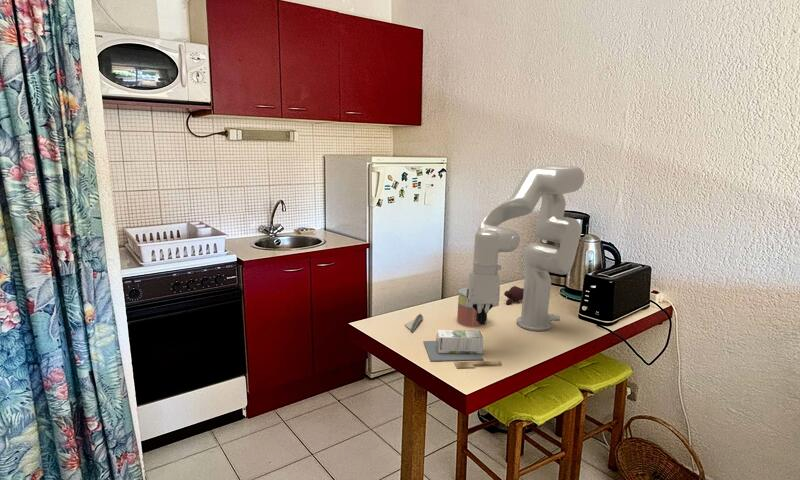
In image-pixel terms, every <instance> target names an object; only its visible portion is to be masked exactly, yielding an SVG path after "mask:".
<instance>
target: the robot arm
mask: <svg viewBox="0 0 800 480" xmlns="http://www.w3.org/2000/svg"><path fill="white" fill-rule="evenodd" d="M584 182H585V172H584V170H582V168H580V167H578V166H572V165H571V166H568V165H558V164H544V165H540V166H536V167H532V168H529V169H528V170H526V172H525V173H524V175H523V177H522V178H521V180H520V181H519V183H518V185H517V186H516V189H515V190H514V192H513V193H512V195H511V197H510V198H509V199H506V201H504V202H502V203H500V204H499V205H497V206H496V207H494V208H493V209H491V210H490V211H489V212H488V213H487V214H486V215H485V217H484V218H483V219H482V222H481V223H480V224H479V226H478V229H477V231H476V232H475V235H474V245H473V247H474V249H473V264H472V270H471V271H469V275H468V277H467V278H468V279H467V285H466V287H467V290H466V299H467V301H466V305H467V306H468V307H473V308H474V309H475V310H476V311H477V314H476V321H478V323H479V324H480V325H482V324H483V325H485V321H486V320H488V313H489V311H490V310H491V309H492V308H495V307H498V306H500V294H501V291H500V290H501V287H500V286H501V285H500V276H499V273H498V271H499V270H502V265H499V264H498V261H499V260H498V259H499V253H512V252H514V251H515V250H516V249H518V247H519V246H520V243H521V237H520V235H519V232H518V231H516V230H514V229H512V228H506V227H503V226H500V225H501V224H503V223H504V222H506V221H508V220H512V219H515V218H521V217H523V216H527V215H529V214H531V213H532V212H533V211H534V210H535V207H536V206H537V204H538V202H539V201H540V200H541V203H540V208H539V211H538V216H537V220H536V225H535V229H534V233H535V236H536V237H537V238H538V239H541V240H544V241H546V242H547V241H548V242H553V243H557V244H560V245H559V246H558V245H557V246H556V245H552V244H549V243H548V244H547V243H543V242H531V243H530V244H528V245H526V247H525V249H524V252H523V253H524V254H523V260H524V283H523V288H524V292H523V300H522V305H521V314H520V316H518V317H517V318H516V324H517V325H518V326H519V327H521V328H523V329H525V330H529V331H535V332H541V331H542V332H543V331H548V330H550V329H551V327H552V323H551V322H560V321H561V317H560V315H554V313H549V306H550V298H551V297H550V296H551V287H552V279H551V276H550V273H553V274H556V275H557V274H558V275H561V276H563V275H567V274H568V273H570V271H571V270H572V268H573V265H574V262H575V258H576V255H577V251H578V247H579V244H580V243H579V242H580V239H581V236H582V235H581V233H582V228H581V223H580V222H579V221H578V220H577V219H576V218H572V217H567V216H564V215H565V210H566V206H567V203H566V198H565V196H564V194H570V193H574V192H577V191H579V190H580V189H581V188H582V186H583V185H584ZM481 304H483V309H482V310H481ZM485 326H486V325H485Z"/></svg>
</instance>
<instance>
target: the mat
mask: <svg viewBox="0 0 800 480" xmlns="http://www.w3.org/2000/svg"><path fill="white" fill-rule="evenodd" d="M423 344H424V347H425V351H426V353H427V356H428V359H429V362H430V363H431V362H432V363H433V362H436V363H437V362H478V361H485V359H484V357H483V356H482V355H483V354H458V353H438V349H437V345H436V340H423Z"/></svg>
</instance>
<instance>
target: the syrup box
mask: <svg viewBox="0 0 800 480" xmlns="http://www.w3.org/2000/svg"><path fill="white" fill-rule="evenodd" d="M435 337H436V339H435V341H436V345H437V349H438V353H458V354H481V355H483V348H484V338H483V334H482V333H481V331H480V330H466V329H465V330H460V329H459V330H458V329H455V330H454V329H437V331H436V336H435Z"/></svg>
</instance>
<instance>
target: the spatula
mask: <svg viewBox="0 0 800 480" xmlns="http://www.w3.org/2000/svg"><path fill="white" fill-rule="evenodd" d="M453 363H454V366H455V368H456V369H457V370H464V369H466V370H467V369H469V370H470V369H476V368H477V367H481V368H482V367H502V364H503V363H502V362H501V360H488V361H487V360H486V361H485V360H478V361H453Z"/></svg>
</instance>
